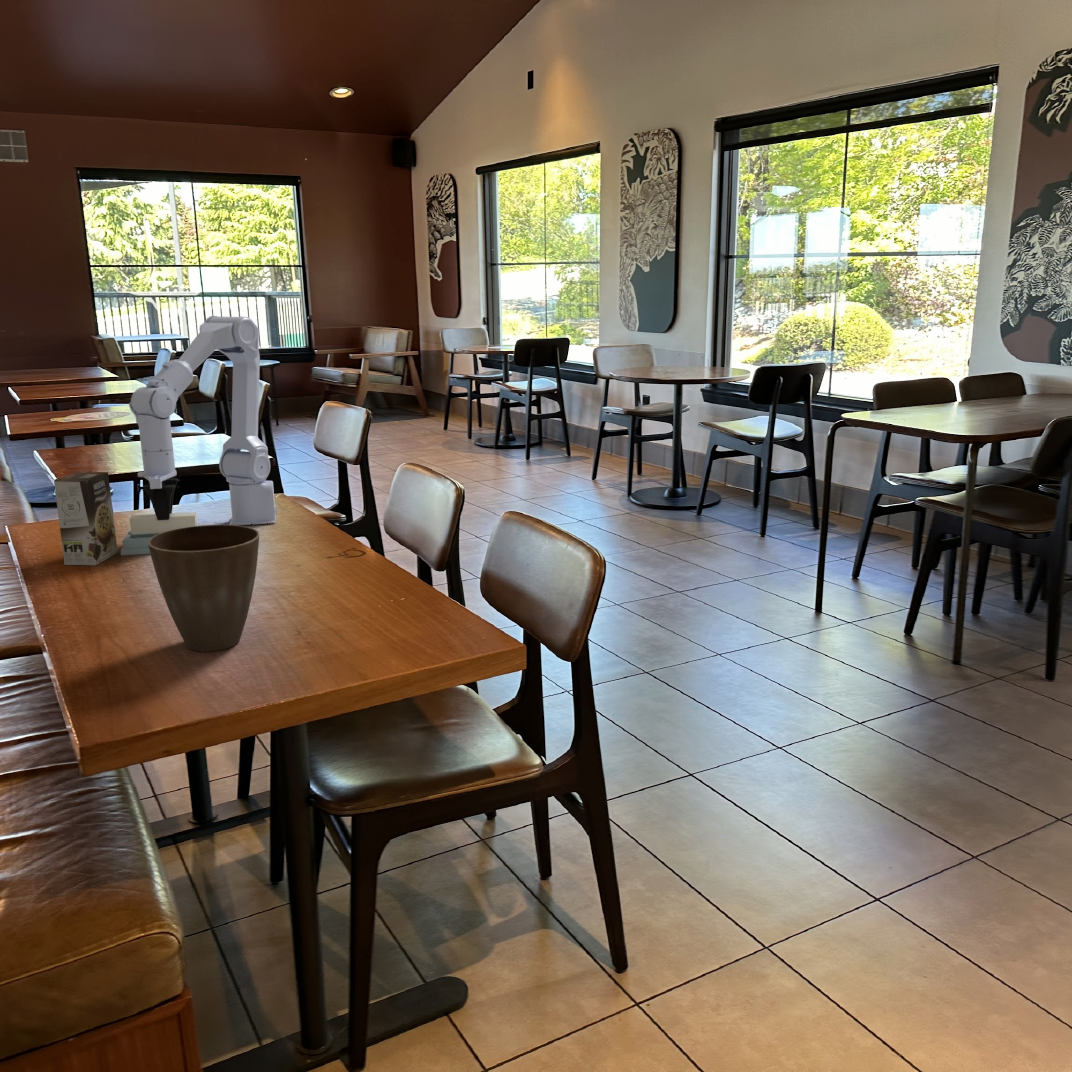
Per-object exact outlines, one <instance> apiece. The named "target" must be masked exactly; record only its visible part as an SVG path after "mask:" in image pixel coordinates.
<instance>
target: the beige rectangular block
mask: <svg viewBox="0 0 1072 1072" xmlns="http://www.w3.org/2000/svg"><path fill="white" fill-rule="evenodd" d="M197 517H198V516H197V512H196V511H195V512H194V511H193V512H192V511H191V512H172V513H170V517H169V520H158V519H157V517H156V514H155V513H154V514H151V513H150V514H135V515H134V514H133V515H131V516H130V518H129V525H130V531H131V535H136V534H155V533H163V532H166V531H170V530H174V529H179V528H185V527H192V526H198V518H197Z"/></svg>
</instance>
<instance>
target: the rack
mask: <svg viewBox="0 0 1072 1072" xmlns="http://www.w3.org/2000/svg"><path fill="white" fill-rule="evenodd" d="M157 534H160V533H155V534H136V535H131V530H129V531H128V532H127V534H126V535H125V537H124V538H123V539H122V548H121V550H120V555H121V556H133V555H134V556H135V555H149V554H150V550H149V546H148V541H149V539H150V538H152V537H153V536H155V535H157ZM150 555H151V554H150Z"/></svg>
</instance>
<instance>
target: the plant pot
mask: <svg viewBox="0 0 1072 1072" xmlns="http://www.w3.org/2000/svg"><path fill="white" fill-rule="evenodd" d="M259 543H260V532H259V531H258V530H256V529H255V528H253V527H249V526H246V525H230V524H203V525H197V526H192V527H185V528H179V529H174V530H170V531H166V532H163V533H160V534H157V535H155V536H153V537H152V538H150V539H149V541H148V546H149V550H150V557H151V560H152V561H151V562H152V565H153V568H154V572H155V575H156V579H157V581H158V584H159V588H160V590H161V593H162V595H163V599H164V600H165V603H166V605H167V608H168V611H169V613H170V615H171V618H172V620H173V623H174V624H175V626H176V628H177V630H178V632H179V635H180V636H181V638H182V640H183V641H184V644H185V646H186V647H187V648H188V649H189V650H192V651H194V652H195V651H196V652H202V653H203V652H216V651H222V650H226V649H230V648H232V647H234V646H236V645H237V644H239V642H240V640H241V638H242V635H243V632H244V628H245V625H246V622H247V618H248V614H249V610H250V606H251V603H252V602H251V601H252V597H253V596H252V595H253V591H254V586H255V579H256V575H257V566H258V557H259V546H260V544H259Z"/></svg>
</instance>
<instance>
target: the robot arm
mask: <svg viewBox="0 0 1072 1072" xmlns="http://www.w3.org/2000/svg"><path fill="white" fill-rule="evenodd" d="M259 332H260V328H259V326H257V324H256V323H255V322H254V321H253V320H252V318H250V317H249V316H245V315H244V316H243V315H242V316H217V315H211V316H209V317H207V318H206V319H205V321H204V322H203V323H202V324H200V325H199V333H198V334H197V335H196V337H195V338H194V339H193V341H191V343H190V344H189V346H188V347H187V348H186V350H185V351H184V352H183V354H182V355H181V356H180V357H179V358H178V359H177V360H176V359H171V360H168V361H164V362H163V363H162V365H161V367H162V368H161V369H160V371H158V372H157V373H156V374H155V375H154V377H153V378H150V379H149V380H148V382H147V384H146V385H145V386H142V387H139V388H137V389H136V390H135V391H134V392H133V393H132V395H131V397H130V402H129V403H128V406H129V409H130V411H131V413H132V414H133V415H134V417H135V423H136V424H137V425H138V429H139V430H138V431H139V439H140V440H139V441H140V448H141V449H140V450H141V456H142V465H143V467H142V468H143V471H139V472H138V473H137V478H145V479H146V480H147V482H146V484H144V485H143V487H142V488H143V491H144V492H145V494H146V496H147V497H148V499H149V500H150V503H151V505H152V508H153V511H154V514H156V517H157V519H158V520H169V517H170V513H173V507H174V494H175V490H176V487H177V483H178V482H179V478H177V477H176V476H177V469H176V466H175V464H176V463H175V456H174V446H173V445H174V443H173V436H172V435H173V434H172V425H171V415H173V414H174V413H175V411H176V408H177V407H176V406H177V401H179V398H180V396H181V395H182V394H183V393H184V392H185V390H186V389H188V387H189V386H190V385H191V383H193V381H194V374H193V373H194V371H195V370H196V369H197V368H199V366H200V365H202V364H203V363H204V362H205V360H207V359H208V358H209V357H210V356H211V355H212V354H213V353H214V352H215V351H219V352H220V353H222V354H223V355H225V356H226V357H227V358H228V359H229V360H230V361H231V362H232V392H231V395H232V397H231V398H232V400H231V401H232V402H231V436H230V437H229V438H228V439H227V440H225V442H224V443H223V445H222V452H221V456H220V458H219V463H218V467H219V471H220V473H221V475H222V476H223V477H225V479H226V482H227V483H228V487H229V497H230V507H231V517H230V522H229V525H238V526H248V525H249V526H250V525H251V524H252V525H262V524H263V525H265V524H266V525H267V523H268V524H275V523H276V519H277V518H276V517H277V516H276V514H278V513H277V511H278V510H277V505H276V503H275V493H274V491H275V489H274V481H273V480H267V478H268V477H269V474H270V472H271V461H270V458H269V452H268V451H269V449H268V446H267V445H266V444H265V443H264V442H263V441H262V440H261V439H260V438H259V403H260V401H259V399H260V369H261V368H260V365H261V363H260V359H261V357H260V356H261V355H260V354H261V353H260V350H259V349H260V348H259V346H260V345H259V343H260V333H259Z"/></svg>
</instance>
